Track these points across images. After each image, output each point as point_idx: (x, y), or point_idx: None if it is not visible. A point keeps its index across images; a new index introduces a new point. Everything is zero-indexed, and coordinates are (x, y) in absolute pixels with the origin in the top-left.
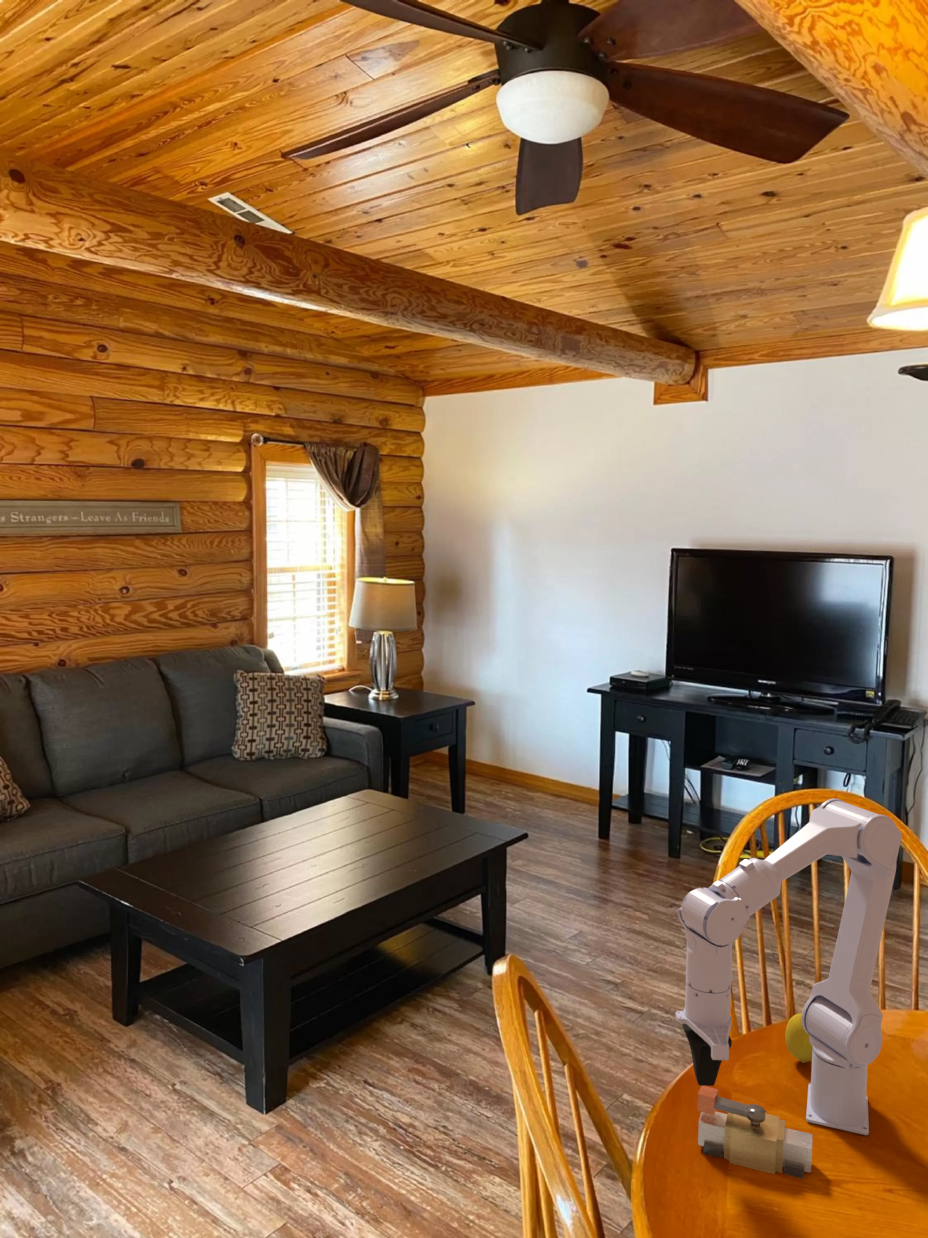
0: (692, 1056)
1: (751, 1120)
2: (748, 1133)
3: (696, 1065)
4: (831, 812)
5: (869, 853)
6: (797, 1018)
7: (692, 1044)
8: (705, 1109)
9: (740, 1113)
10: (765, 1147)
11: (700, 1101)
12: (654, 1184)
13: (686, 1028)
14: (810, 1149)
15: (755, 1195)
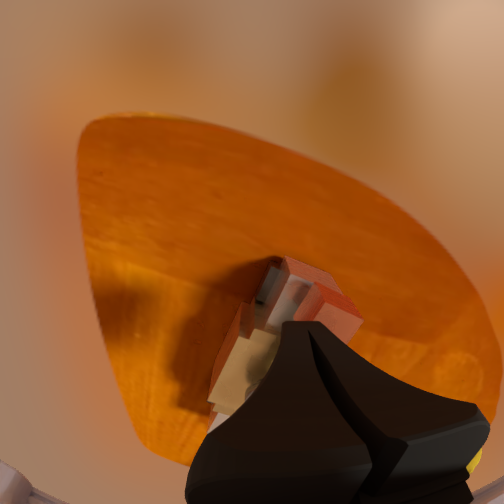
0: (347, 362)
1: (250, 387)
2: (229, 366)
3: (273, 363)
4: None
5: None
6: (471, 463)
7: (201, 457)
8: (306, 302)
9: None
10: (215, 377)
11: (316, 299)
12: (175, 140)
13: (428, 452)
14: (208, 431)
15: (161, 317)
